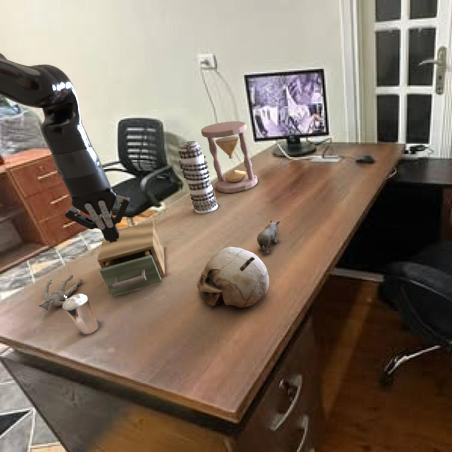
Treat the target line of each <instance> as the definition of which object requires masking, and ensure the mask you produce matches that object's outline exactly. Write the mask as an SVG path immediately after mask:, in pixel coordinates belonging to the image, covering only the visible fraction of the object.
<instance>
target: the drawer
mask: <svg viewBox="0 0 452 452" xmlns="http://www.w3.org/2000/svg"><path fill="white" fill-rule="evenodd" d="M105 267H106V268H100V269H99V273H100V276H101V277H102V279H103V281H104V283H105V286H106V287H107V289H108V291H109V293H110V295H111V297H112V298H113V297H116V296H120V295H123V294H126V293H130V292H133V291H136V290H139V289H143V288H146V287H149V286H153V285H156V284H159V283H162V281H163V280H162V277H160V274H159V272H158V267H157V264H156V262H155V259H154V257H153V254H152V252H151V250H150V249H149V250H146V251H142V252H138V253H135V254H131V255H127V256H123V257H120V258H116V259H112V260H109V261H106V264H105Z"/></svg>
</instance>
